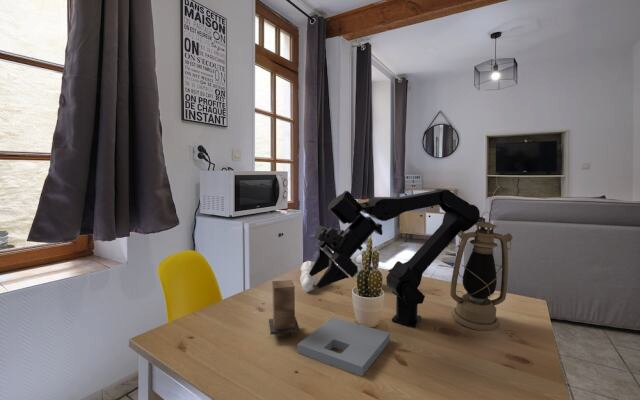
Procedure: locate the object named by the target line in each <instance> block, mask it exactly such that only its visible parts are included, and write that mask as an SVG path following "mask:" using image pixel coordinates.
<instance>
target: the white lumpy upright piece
mask: <svg viewBox="0 0 640 400" xmlns="http://www.w3.org/2000/svg"><path fill="white" fill-rule="evenodd" d="M314 263H315V261H311V260H306V261H305V262H303V263H302V264H301V266H300V269H299V270H300V271H301V272H300V273H301V275H300V277H299V281H300V285H301V286H300V288H301V290H302V291H304V292H306V293H309V292H312V291H313V290H314V286H316V285H317V283H318V282H317V281H318V278H317V274H318V273H317V274H315V275H314V276H311V275H310V274H309V273H310V271H311V269H312V267H313V265H314Z"/></svg>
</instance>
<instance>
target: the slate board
mask: <svg viewBox="0 0 640 400" xmlns="http://www.w3.org/2000/svg"><path fill="white" fill-rule="evenodd" d="M390 342H391V332H388V331H384V330H381V329H377V328H373V327H370V326H366V325H361V324H359V323H355V322H351V321H347V320H344V319H341V318H338V317H337V318H336V317H334V316H332V317H331V318H330V319H328V320H327V321H326V322H324V324H322V325H321V326H319V327H318V328H316V329H315V330H314V331H313V332H311V333H310V334H309V335H307V336H306V337H305V338H304V339H302V340H301V341H300V342H298V343H297V345H296V346H297V347H296V348H297V353H298V354H300V355H302V356H306V357H308V358H311V359H313V360H316V361H319V362H321V363H324V364H327V365H329V366H332V367H335V368H338V369H341V370H344V371H346V372H349V373H352V374H353V375H356V376H360V377H363V376H364V374H366V372H367V371H368V370H369V369H370V367H371V366H372V364H374V362H375V360H377V358H378V357H379V356H380V354H382V352H383V350H384V349H385V348H386V347H387V346H388V344H389V343H390ZM332 349H337V350H340V351H342V352H341V353H339V352H336V351H334V350H332Z"/></svg>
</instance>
